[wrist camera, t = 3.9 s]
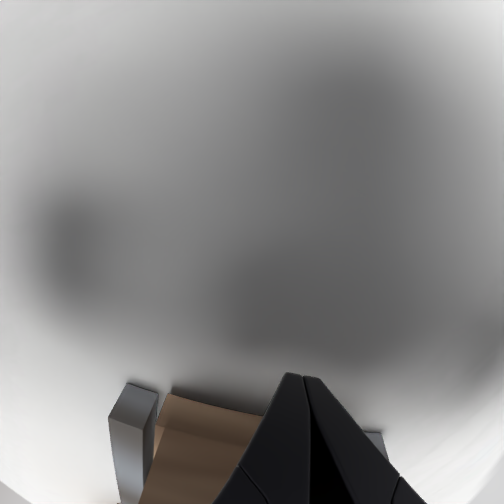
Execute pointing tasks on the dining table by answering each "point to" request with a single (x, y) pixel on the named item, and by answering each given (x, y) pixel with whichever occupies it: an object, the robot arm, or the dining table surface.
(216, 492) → the sled
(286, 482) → the robot arm
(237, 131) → the dining table surface
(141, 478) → the tunnel track
